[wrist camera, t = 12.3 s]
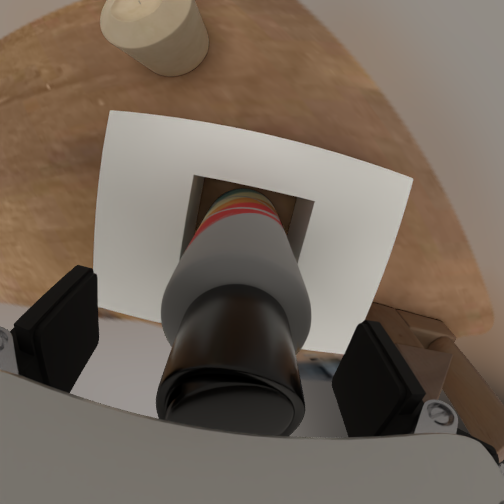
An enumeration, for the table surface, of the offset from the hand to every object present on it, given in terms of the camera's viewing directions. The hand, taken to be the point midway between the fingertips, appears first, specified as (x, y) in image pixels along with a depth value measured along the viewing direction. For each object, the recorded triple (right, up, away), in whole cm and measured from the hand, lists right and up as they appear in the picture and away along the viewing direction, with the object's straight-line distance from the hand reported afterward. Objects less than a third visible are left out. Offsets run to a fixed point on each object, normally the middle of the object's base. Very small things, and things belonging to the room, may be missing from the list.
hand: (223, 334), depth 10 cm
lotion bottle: (0, +5, +15) cm, 16 cm away
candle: (-5, +19, +10) cm, 22 cm away
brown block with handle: (+16, -5, +19) cm, 26 cm away
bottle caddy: (0, +5, +15) cm, 16 cm away
